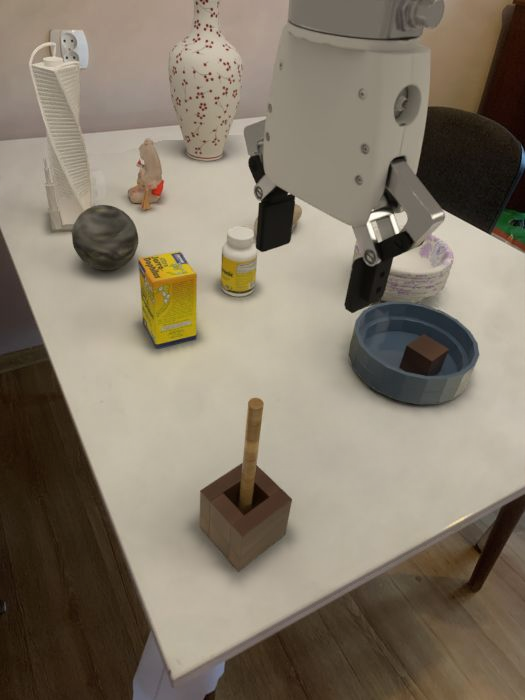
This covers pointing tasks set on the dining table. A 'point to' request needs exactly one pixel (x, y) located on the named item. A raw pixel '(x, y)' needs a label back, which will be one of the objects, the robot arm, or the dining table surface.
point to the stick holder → (243, 516)
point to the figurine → (147, 177)
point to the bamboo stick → (250, 453)
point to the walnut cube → (424, 356)
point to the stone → (295, 218)
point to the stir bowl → (390, 343)
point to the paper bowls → (416, 270)
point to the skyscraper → (62, 139)
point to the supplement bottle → (239, 262)
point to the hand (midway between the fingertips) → (314, 273)
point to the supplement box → (168, 298)
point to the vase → (205, 83)
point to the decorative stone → (105, 237)
